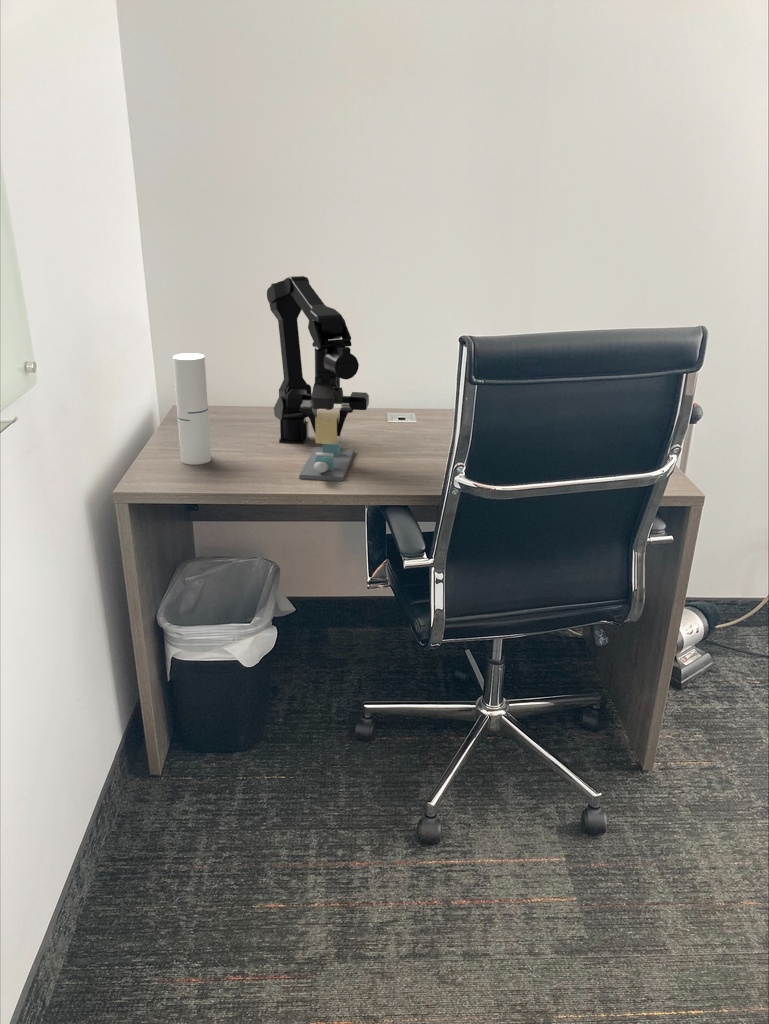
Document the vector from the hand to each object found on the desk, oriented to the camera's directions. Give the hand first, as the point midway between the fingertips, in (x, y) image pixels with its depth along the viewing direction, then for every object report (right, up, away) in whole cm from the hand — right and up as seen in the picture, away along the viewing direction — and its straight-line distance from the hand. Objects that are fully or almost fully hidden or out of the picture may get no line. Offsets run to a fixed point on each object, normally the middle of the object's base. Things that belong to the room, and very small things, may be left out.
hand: (327, 435), depth 190 cm
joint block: (0, -1, 0) cm, 1 cm away
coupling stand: (0, -7, +3) cm, 8 cm away
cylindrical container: (-32, -6, +5) cm, 33 cm away
